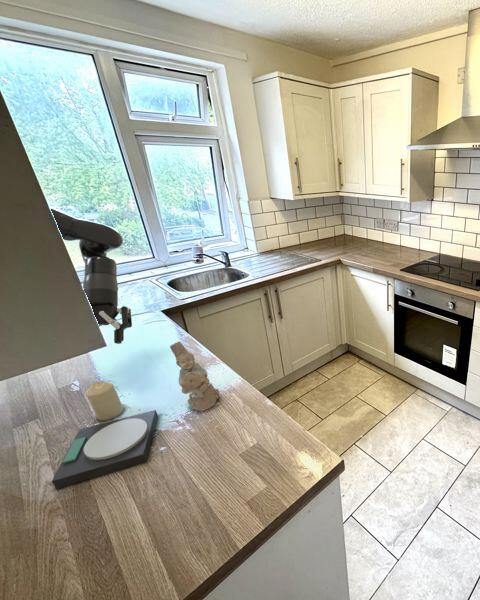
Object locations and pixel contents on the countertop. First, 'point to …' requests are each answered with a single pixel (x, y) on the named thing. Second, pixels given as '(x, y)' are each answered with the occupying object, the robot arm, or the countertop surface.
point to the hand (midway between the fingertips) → (100, 346)
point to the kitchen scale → (107, 448)
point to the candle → (104, 400)
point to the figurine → (194, 379)
